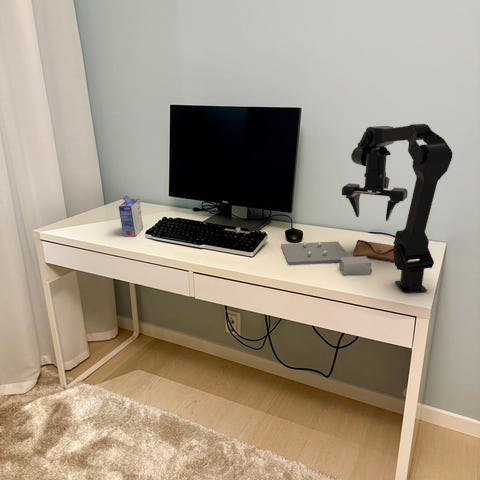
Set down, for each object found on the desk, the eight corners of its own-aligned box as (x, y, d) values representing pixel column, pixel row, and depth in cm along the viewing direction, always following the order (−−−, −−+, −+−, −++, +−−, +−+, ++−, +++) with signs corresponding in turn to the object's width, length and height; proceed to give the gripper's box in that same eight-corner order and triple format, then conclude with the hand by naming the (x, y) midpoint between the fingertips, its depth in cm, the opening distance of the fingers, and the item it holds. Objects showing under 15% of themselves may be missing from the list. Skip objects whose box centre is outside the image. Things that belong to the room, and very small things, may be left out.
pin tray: (351, 262, 138) (351, 254, 137) (288, 264, 137) (288, 257, 137) (337, 244, 153) (338, 237, 152) (281, 246, 152) (281, 239, 152)
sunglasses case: (349, 256, 143) (353, 236, 143) (353, 259, 149) (357, 240, 150) (407, 265, 135) (411, 244, 135) (409, 268, 141) (412, 248, 142)
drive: (371, 275, 130) (372, 262, 128) (343, 276, 129) (344, 263, 128) (366, 268, 134) (367, 256, 133) (339, 269, 134) (339, 257, 133)
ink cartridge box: (130, 228, 176) (126, 193, 171) (143, 228, 175) (140, 193, 170) (121, 236, 166) (117, 199, 161) (135, 236, 166) (131, 199, 161)
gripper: (414, 166, 133) (409, 216, 138) (354, 163, 143) (351, 209, 148) (405, 173, 124) (400, 225, 129) (342, 168, 134) (339, 217, 139)
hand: (372, 218), depth 137 cm, fingers open, 9 cm apart
